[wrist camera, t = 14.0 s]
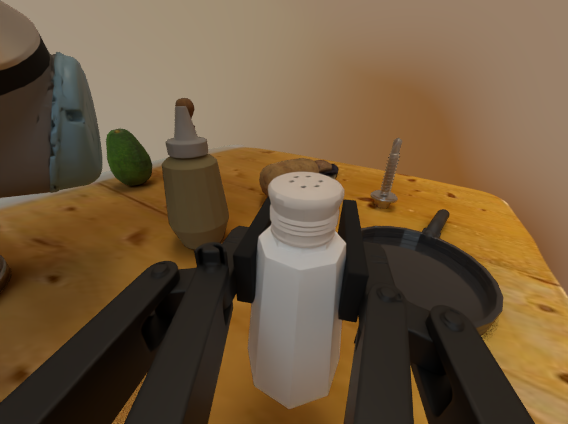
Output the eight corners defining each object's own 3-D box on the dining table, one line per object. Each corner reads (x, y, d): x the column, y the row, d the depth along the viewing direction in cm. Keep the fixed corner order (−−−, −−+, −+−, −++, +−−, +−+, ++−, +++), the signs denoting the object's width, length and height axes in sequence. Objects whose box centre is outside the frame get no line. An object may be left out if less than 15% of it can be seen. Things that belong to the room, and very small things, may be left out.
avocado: (108, 187, 51) (87, 129, 45) (142, 176, 57) (127, 124, 51) (132, 194, 48) (112, 133, 42) (164, 182, 54) (151, 127, 48)
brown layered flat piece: (334, 183, 56) (336, 168, 54) (300, 178, 58) (301, 164, 56) (339, 170, 65) (341, 157, 63) (309, 166, 67) (310, 153, 65)
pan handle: (434, 247, 33) (438, 236, 32) (417, 240, 34) (421, 230, 34) (449, 219, 40) (453, 210, 39) (435, 215, 41) (438, 206, 41)
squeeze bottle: (212, 219, 40) (196, 103, 31) (242, 238, 35) (232, 107, 26) (164, 238, 35) (128, 105, 26) (191, 264, 30) (158, 111, 21)
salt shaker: (358, 362, 14) (415, 187, 8) (287, 441, 10) (303, 244, 5) (296, 302, 17) (307, 153, 12) (229, 347, 14) (204, 174, 9)
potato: (330, 195, 49) (335, 158, 46) (283, 218, 41) (284, 174, 37) (296, 183, 55) (297, 149, 52) (248, 200, 47) (246, 161, 43)
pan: (485, 385, 18) (497, 372, 17) (311, 277, 28) (312, 265, 27) (498, 274, 30) (506, 261, 29) (370, 224, 39) (372, 214, 38)
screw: (395, 213, 43) (368, 208, 45) (394, 202, 47) (369, 198, 49) (416, 141, 37) (383, 139, 38) (412, 136, 41) (383, 134, 42)
